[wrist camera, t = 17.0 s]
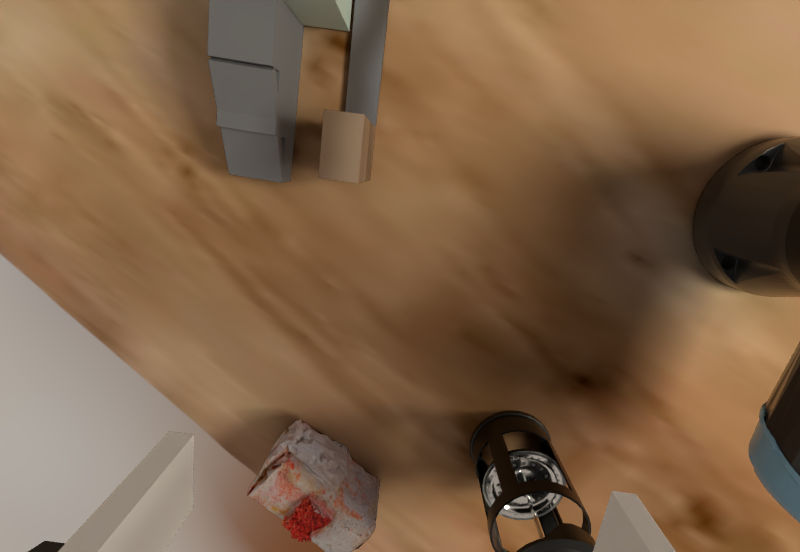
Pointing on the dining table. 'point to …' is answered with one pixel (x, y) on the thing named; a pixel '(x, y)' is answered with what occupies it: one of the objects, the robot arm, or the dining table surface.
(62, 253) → the dining table surface
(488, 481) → the french press
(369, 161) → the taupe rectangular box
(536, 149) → the dining table surface
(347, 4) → the pale green box
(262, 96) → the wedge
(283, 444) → the food item
